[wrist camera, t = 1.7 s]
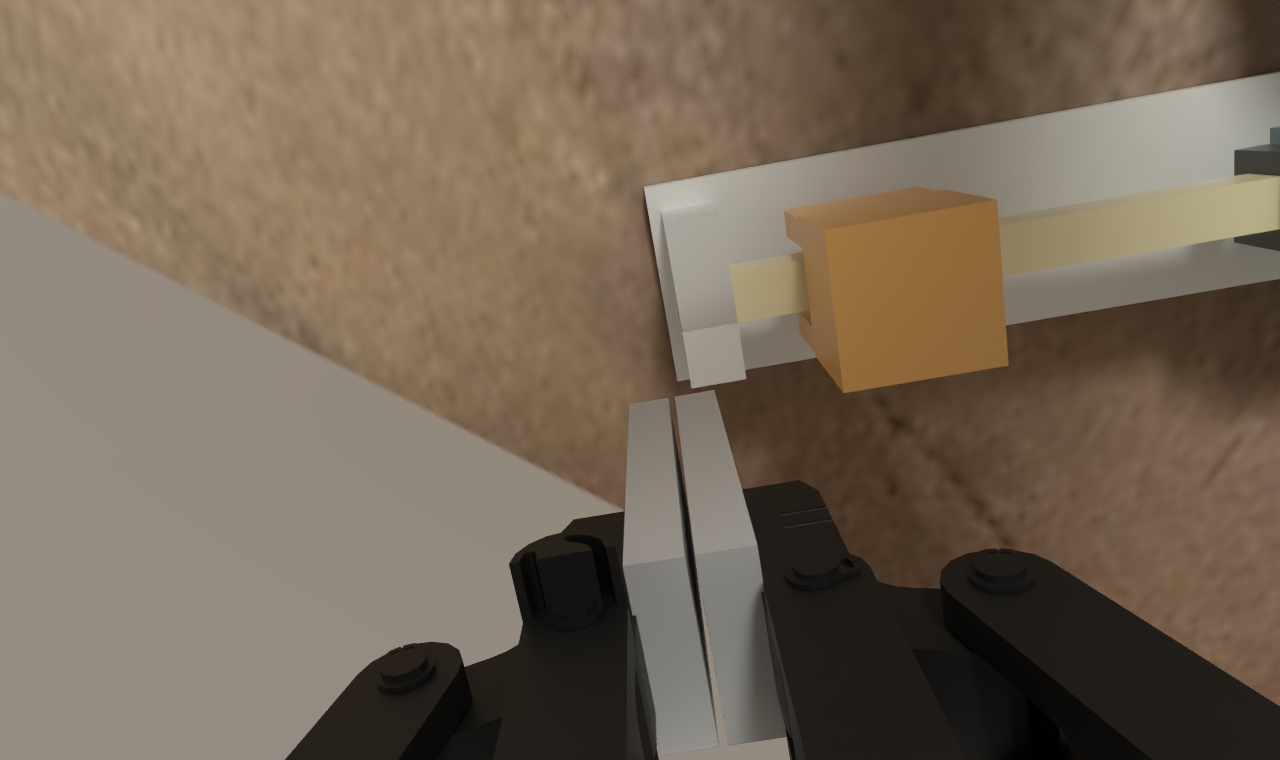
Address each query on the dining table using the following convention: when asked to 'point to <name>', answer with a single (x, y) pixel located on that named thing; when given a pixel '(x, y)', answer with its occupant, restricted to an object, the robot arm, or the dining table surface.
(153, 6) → the dining table surface
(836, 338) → the orange slider block
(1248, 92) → the linear slide rail
